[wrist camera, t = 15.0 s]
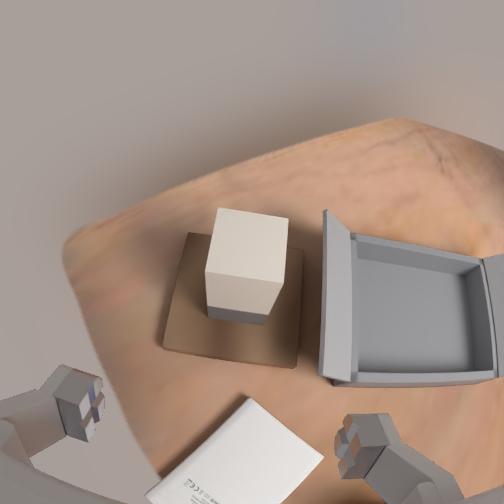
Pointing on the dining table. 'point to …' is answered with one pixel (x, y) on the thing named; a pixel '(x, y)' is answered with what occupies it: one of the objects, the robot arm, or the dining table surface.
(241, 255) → the block
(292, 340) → the walnut board
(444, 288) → the carton
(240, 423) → the external hard drive
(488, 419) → the dining table surface
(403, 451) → the robot arm
